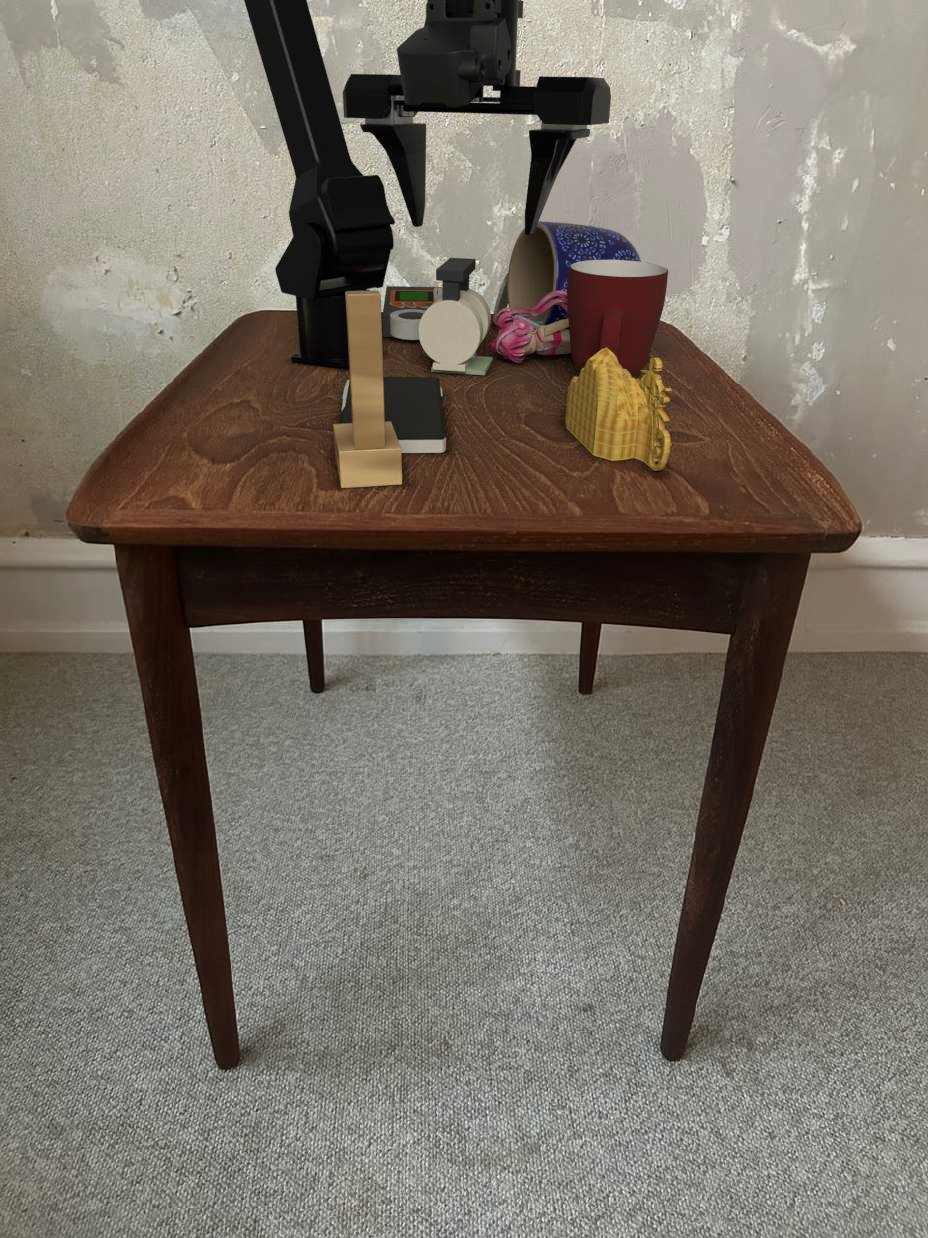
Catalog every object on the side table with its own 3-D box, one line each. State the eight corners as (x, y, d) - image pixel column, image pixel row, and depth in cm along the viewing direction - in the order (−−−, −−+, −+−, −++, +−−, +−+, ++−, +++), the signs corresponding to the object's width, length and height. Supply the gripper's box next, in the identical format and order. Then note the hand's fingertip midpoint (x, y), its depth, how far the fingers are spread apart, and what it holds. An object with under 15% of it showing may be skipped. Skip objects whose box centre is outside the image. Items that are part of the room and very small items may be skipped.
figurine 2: (604, 419, 69) (614, 327, 65) (669, 476, 59) (684, 371, 56) (560, 422, 68) (567, 329, 65) (618, 480, 58) (630, 373, 55)
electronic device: (381, 318, 87) (386, 281, 100) (382, 347, 89) (387, 308, 101) (448, 319, 88) (445, 282, 100) (448, 348, 89) (445, 309, 102)
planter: (635, 357, 91) (540, 355, 86) (588, 316, 98) (498, 313, 94) (668, 248, 84) (566, 240, 80) (614, 214, 92) (519, 205, 87)
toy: (630, 381, 88) (488, 382, 84) (616, 336, 90) (477, 335, 86) (661, 330, 81) (509, 328, 77) (645, 283, 83) (496, 278, 79)
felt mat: (431, 371, 80) (431, 367, 80) (441, 357, 84) (441, 353, 84) (484, 375, 79) (485, 371, 79) (492, 361, 84) (492, 356, 83)
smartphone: (333, 439, 61) (345, 376, 74) (334, 455, 62) (346, 390, 75) (448, 439, 62) (440, 376, 74) (448, 455, 62) (440, 390, 75)
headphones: (418, 368, 79) (417, 268, 75) (433, 351, 85) (432, 256, 80) (479, 372, 79) (481, 271, 74) (490, 354, 84) (493, 259, 79)
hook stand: (334, 454, 62) (323, 275, 55) (390, 451, 62) (385, 274, 56) (341, 488, 57) (329, 294, 50) (402, 484, 57) (398, 293, 51)
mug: (663, 414, 71) (681, 284, 65) (563, 411, 71) (573, 281, 66) (646, 377, 80) (661, 260, 74) (558, 374, 80) (566, 258, 75)
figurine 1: (490, 335, 96) (558, 357, 95) (497, 289, 91) (570, 312, 90) (506, 306, 99) (573, 328, 98) (514, 261, 94) (584, 283, 93)
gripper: (294, -31, 55) (312, 235, 63) (578, -40, 50) (559, 254, 58) (374, -14, 64) (381, 218, 72) (623, -19, 58) (600, 233, 67)
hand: (472, 230), depth 67 cm, fingers open, 9 cm apart
